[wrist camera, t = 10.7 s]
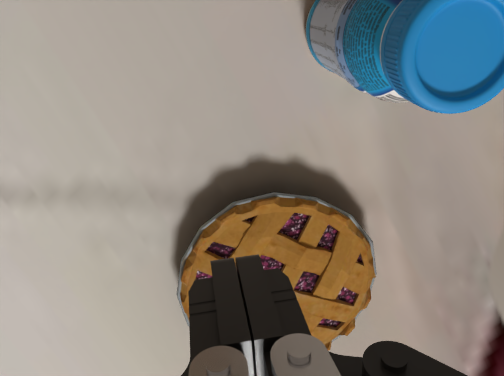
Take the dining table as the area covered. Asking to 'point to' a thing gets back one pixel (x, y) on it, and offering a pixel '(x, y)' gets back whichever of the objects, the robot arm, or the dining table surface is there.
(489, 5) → the beverage bottle
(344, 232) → the pie
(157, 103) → the dining table surface
